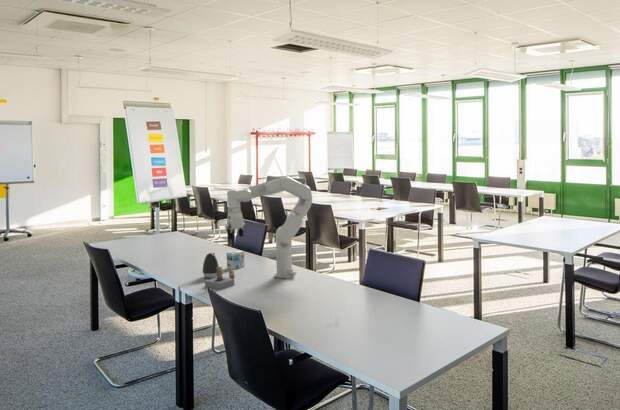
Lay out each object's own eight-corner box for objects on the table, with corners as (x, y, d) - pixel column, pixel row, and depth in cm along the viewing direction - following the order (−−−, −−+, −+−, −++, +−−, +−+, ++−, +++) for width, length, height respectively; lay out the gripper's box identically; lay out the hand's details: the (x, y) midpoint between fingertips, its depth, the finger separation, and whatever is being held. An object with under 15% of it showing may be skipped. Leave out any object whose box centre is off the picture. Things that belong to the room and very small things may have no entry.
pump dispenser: (222, 275, 311) (221, 251, 309) (215, 279, 301) (214, 255, 299) (207, 274, 313) (206, 251, 312) (199, 278, 303) (198, 254, 302)
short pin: (235, 278, 304) (235, 270, 303) (231, 279, 301) (231, 271, 301) (231, 277, 306) (231, 269, 305) (228, 278, 303) (227, 270, 303)
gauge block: (234, 284, 289) (234, 279, 288) (219, 289, 279) (219, 283, 278) (220, 281, 295) (219, 276, 295) (205, 286, 286) (204, 280, 285)
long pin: (223, 285, 288) (223, 267, 286) (219, 286, 285) (219, 268, 284) (219, 284, 289) (219, 266, 288) (215, 286, 287) (215, 267, 286)
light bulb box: (233, 269, 326) (233, 253, 324) (226, 268, 330) (225, 252, 328) (244, 266, 334) (244, 250, 333) (237, 265, 338) (237, 249, 337)
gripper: (229, 212, 291) (231, 240, 293) (248, 208, 305) (249, 235, 307) (219, 211, 295) (221, 239, 297) (239, 208, 309) (240, 234, 311)
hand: (236, 237), depth 302 cm, fingers open, 9 cm apart
